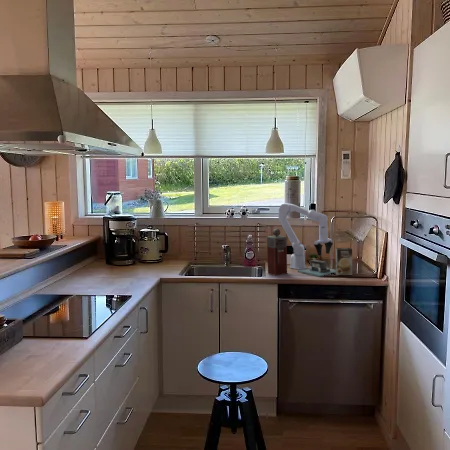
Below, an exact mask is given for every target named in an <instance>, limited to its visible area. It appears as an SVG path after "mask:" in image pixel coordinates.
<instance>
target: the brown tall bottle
mask: <svg viewBox="0 0 450 450" xmlns="http://www.w3.org/2000/svg"><path fill="white" fill-rule="evenodd" d="M287 239H288V238H287V237H286V236H285V235H281V230H280V229H279V228H275V229H273V230H272V235H267V237H266V246H267V247H266V249H267V252H266V253H267V273H268V274H270V275H273V276H280V275H286V274H288V252H287V251H288V250H287V248H288V247H287V244H288V243H287Z"/></svg>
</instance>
